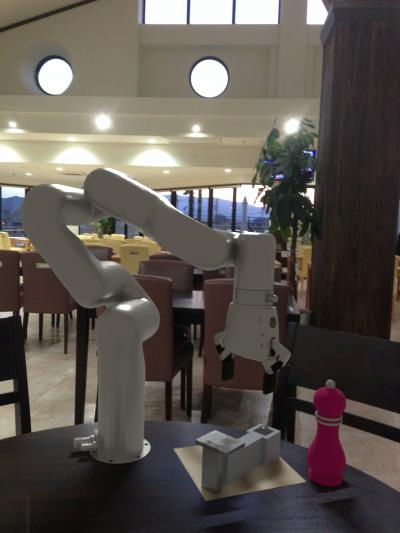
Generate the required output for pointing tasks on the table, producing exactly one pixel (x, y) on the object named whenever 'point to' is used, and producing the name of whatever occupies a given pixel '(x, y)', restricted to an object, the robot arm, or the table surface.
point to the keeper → (216, 458)
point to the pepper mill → (327, 437)
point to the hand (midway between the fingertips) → (247, 385)
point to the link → (251, 453)
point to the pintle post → (264, 430)
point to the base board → (252, 481)
